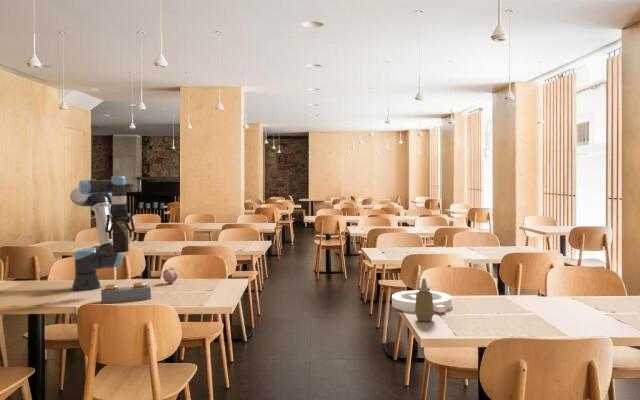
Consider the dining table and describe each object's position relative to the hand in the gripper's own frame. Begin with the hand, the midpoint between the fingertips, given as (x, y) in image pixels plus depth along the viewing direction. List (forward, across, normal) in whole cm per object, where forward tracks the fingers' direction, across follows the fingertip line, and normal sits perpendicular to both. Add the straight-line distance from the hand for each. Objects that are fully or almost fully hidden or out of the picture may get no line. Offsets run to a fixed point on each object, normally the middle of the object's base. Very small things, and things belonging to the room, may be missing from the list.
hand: (120, 244), depth 303 cm
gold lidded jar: (+26, +8, -22) cm, 35 cm away
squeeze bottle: (+27, +115, -128) cm, 174 cm away
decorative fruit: (+27, +28, +14) cm, 42 cm away
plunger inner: (+26, -6, -22) cm, 35 cm away
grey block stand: (+27, +1, -22) cm, 35 cm away
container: (+4, 0, 0) cm, 4 cm away
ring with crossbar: (+28, +129, -104) cm, 168 cm away
